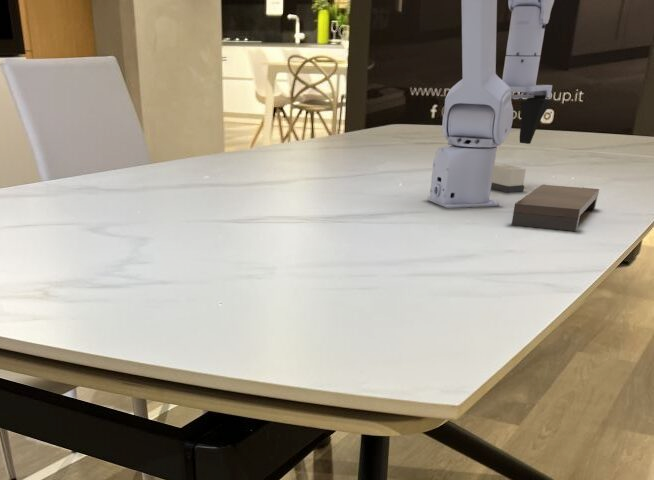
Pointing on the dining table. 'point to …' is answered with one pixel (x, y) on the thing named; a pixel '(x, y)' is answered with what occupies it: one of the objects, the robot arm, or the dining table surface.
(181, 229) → the dining table surface
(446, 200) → the robot arm
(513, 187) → the beige cube on base
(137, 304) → the dining table surface
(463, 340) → the dining table surface
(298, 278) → the dining table surface
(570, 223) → the low wooden riser
